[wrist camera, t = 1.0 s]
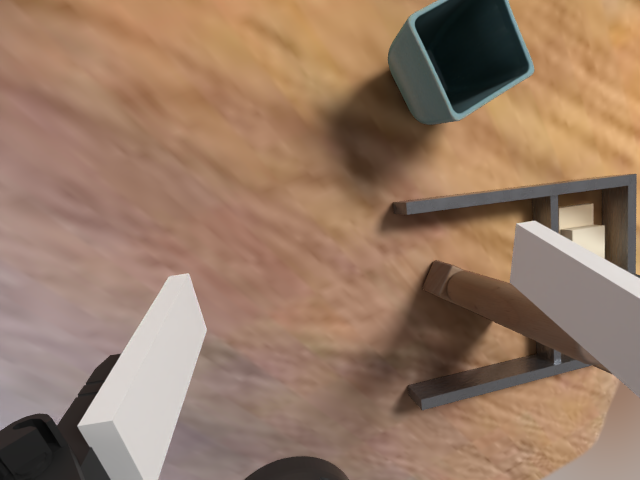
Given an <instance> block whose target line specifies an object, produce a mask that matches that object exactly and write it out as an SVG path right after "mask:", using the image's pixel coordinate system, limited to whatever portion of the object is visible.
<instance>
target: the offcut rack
mask: <svg viewBox="0 0 640 480" xmlns="http://www.w3.org/2000/svg"><path fill="white" fill-rule="evenodd" d="M636 175H637V174H628V175H613V176H604V177H596V178H587V179H579V180H571V181H563V182H555V183H547V184H539V185H530V186H522V187H514V188H506V189H498V190H490V191H482V192H473V193H465V194H457V195H449V196H441V197H433V198H425V199H416V200H408V201H400V202H393V209H394V214H404V215H409V214H416V213H424V212H431V211H439V210H446V209H454V208H462V207H469V206H477V205H484V204H492V203H499V202H507V201H515V200H522V199H530V198H532V212H533V221H536V222H538V223H540V224H542V225H544V226H546V227H547V228H549V229H551V230H553V231H555V232H556V233H558V234H559V225H558V195H560V194H568V193H575V192H583V191H590V190H598V189H602V225H605V259H606V260H607V261H609V262H611V263H613V264H615V265H616V266H618V267H620V268H622V269H624V270H625V271H627V272H629V273H634V274H635V273H636ZM536 350H537V354H534V355H530V356H526V357H522V358H517V359H513V360H509V361H505V362H501V363H497V364H493V365H489V366H485V367H481V368H477V369H473V370H469V371H465V372H461V373H456V374H452V375H448V376H444V377H440V378H436V379H432V380H428V381H424V382H420V383H416V384H412V385H408V393H409V396H410V397H411V398H412V400H413V401H414V402H415V403H416V404H417V405H418V406H419V407H420V409H421V410H425V409H429V408H433V407H436V406H440V405H444V404H448V403H451V402H455V401H459V400H463V399H466V398H470V397H474V396H478V395H482V394H485V393H489V392H493V391H497V390H500V389H504V388H508V387H512V386H516V385H519V384H523V383H527V382H531V381H534V380H538V379H542V378H546V377H550V376H553V375H557V374H561V373H565V372H568V371H572V370H576V369H580V368H583V367H587V366H591V365H589V364H584V363H582V362H580V361H578V360H576V359H573V358H571V357H569V356H567V355H565V354H563V353H561V352H558V351H556V350H554V349H552V348H550V347H548V346H546V345H543V344H541V343H539V342H537V341H536Z"/></svg>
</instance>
